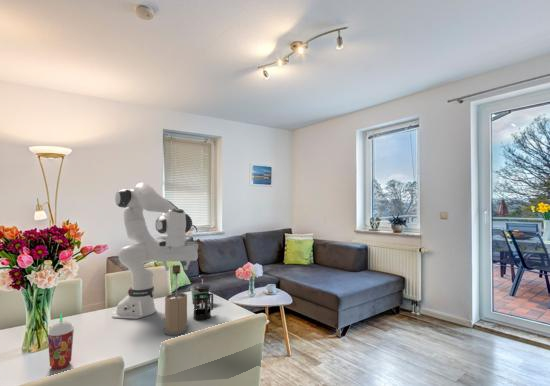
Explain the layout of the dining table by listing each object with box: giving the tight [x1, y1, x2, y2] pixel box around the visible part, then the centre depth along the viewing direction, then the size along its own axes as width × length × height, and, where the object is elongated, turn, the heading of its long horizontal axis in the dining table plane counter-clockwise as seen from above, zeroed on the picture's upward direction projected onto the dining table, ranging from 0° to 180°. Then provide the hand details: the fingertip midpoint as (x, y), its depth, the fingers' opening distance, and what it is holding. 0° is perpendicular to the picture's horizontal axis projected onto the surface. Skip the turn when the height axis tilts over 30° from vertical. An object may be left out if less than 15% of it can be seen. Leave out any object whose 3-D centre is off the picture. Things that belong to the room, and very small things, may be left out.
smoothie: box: [47, 313, 75, 370], centre depth 119 cm, size 8×8×20 cm
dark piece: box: [189, 285, 210, 305], centre depth 188 cm, size 12×6×10 cm, turn 88°
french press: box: [192, 274, 214, 322], centre depth 167 cm, size 12×9×23 cm
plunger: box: [169, 264, 184, 299], centre depth 150 cm, size 7×7×16 cm
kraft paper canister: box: [163, 292, 189, 337], centre depth 151 cm, size 11×13×17 cm
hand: (176, 270), depth 150 cm, fingers open, 7 cm apart
